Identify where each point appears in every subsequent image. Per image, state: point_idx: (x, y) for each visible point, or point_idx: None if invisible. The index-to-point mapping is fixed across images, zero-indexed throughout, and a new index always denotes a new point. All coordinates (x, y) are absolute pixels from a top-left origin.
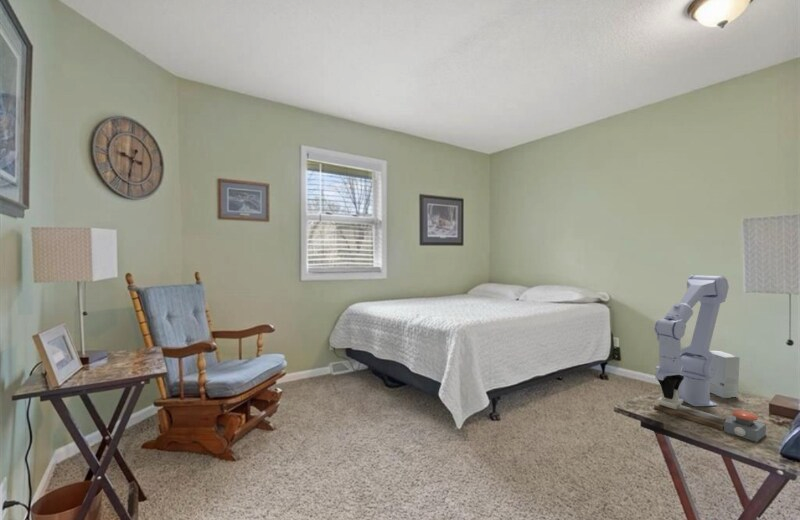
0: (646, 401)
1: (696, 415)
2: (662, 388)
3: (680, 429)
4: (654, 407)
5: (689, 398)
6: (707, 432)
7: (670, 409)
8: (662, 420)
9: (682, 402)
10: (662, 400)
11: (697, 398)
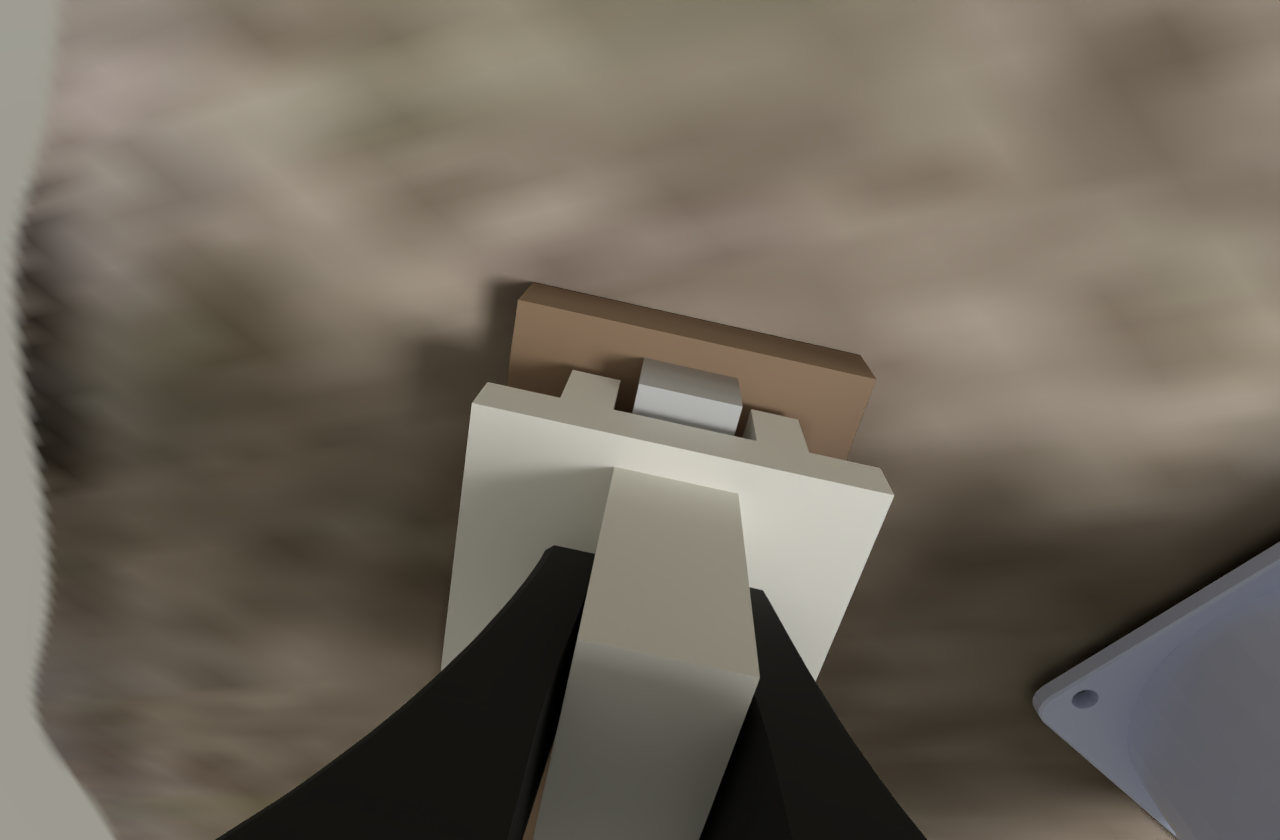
0: (838, 67)
1: (544, 778)
2: (439, 684)
3: (100, 645)
4: (525, 292)
5: (1202, 703)
6: None
7: None
8: (165, 464)
9: None
10: (466, 499)
11: (1179, 813)
